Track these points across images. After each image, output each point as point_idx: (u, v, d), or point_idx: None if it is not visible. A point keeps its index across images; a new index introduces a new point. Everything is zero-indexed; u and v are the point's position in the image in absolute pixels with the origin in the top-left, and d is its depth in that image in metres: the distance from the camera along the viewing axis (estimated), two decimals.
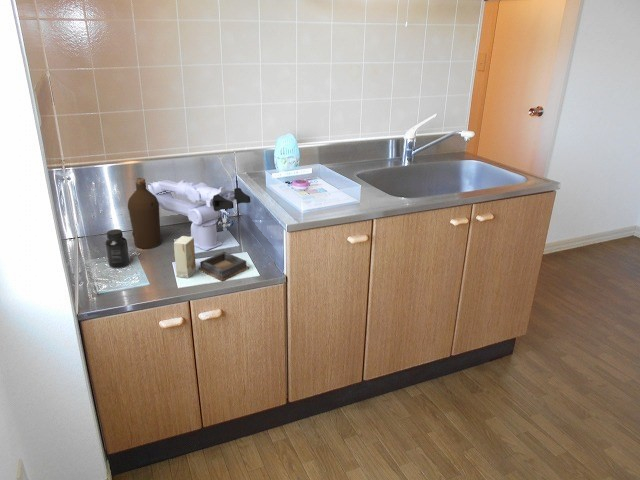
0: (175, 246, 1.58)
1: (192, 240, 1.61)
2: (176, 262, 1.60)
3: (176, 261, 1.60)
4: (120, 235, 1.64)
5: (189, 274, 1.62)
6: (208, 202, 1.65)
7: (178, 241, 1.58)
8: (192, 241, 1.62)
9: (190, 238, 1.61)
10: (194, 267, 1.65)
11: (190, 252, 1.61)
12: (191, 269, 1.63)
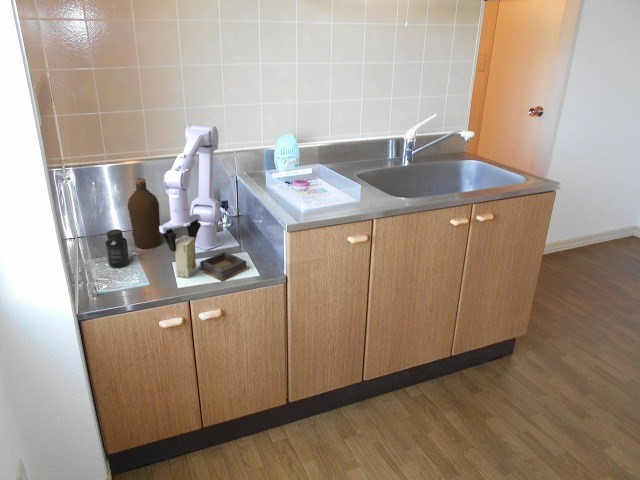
0: (176, 246, 1.57)
1: (193, 240, 1.61)
2: (176, 262, 1.60)
3: (176, 261, 1.60)
4: (120, 235, 1.64)
5: (189, 274, 1.62)
6: (162, 231, 1.52)
7: (179, 241, 1.58)
8: (193, 241, 1.61)
9: (191, 238, 1.61)
10: (194, 267, 1.65)
11: (191, 252, 1.61)
12: (191, 269, 1.63)
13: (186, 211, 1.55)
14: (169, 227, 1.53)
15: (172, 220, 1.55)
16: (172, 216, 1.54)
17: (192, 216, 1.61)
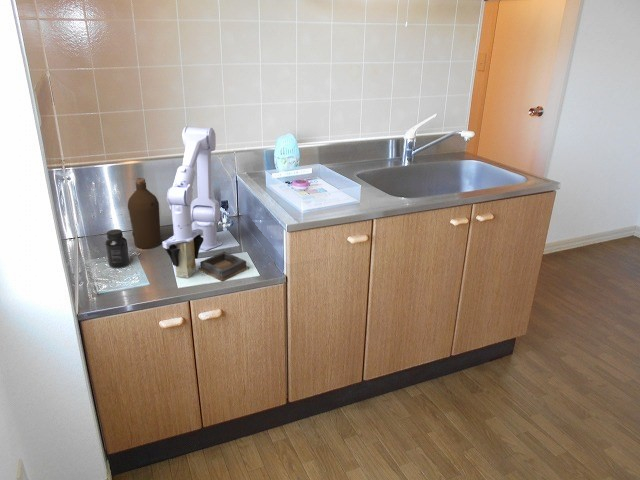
0: None
1: None
2: None
3: None
4: (120, 235, 1.64)
5: (189, 274, 1.62)
6: (165, 246, 1.54)
7: None
8: None
9: None
10: (194, 267, 1.65)
11: (190, 252, 1.61)
12: (191, 269, 1.63)
13: (189, 226, 1.56)
14: (172, 243, 1.55)
15: (175, 235, 1.57)
16: (175, 231, 1.56)
17: (195, 231, 1.63)
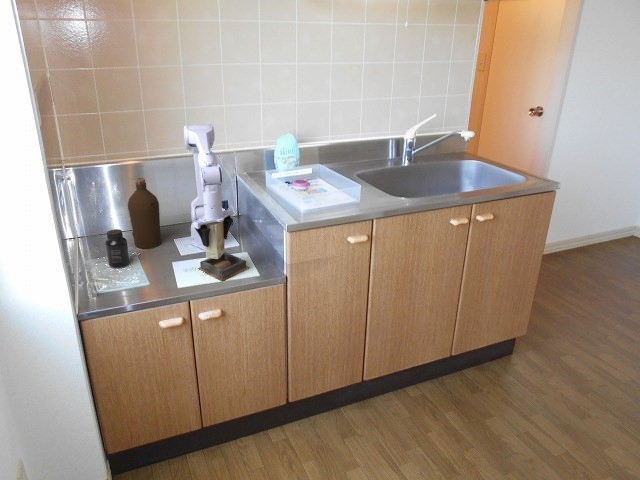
0: None
1: (222, 221, 1.62)
2: None
3: None
4: (120, 235, 1.64)
5: (219, 255, 1.62)
6: (196, 226, 1.54)
7: None
8: (222, 222, 1.62)
9: None
10: (223, 249, 1.66)
11: (220, 233, 1.61)
12: (221, 251, 1.64)
13: (220, 207, 1.57)
14: (203, 222, 1.55)
15: (206, 215, 1.57)
16: (206, 212, 1.56)
17: (224, 212, 1.63)
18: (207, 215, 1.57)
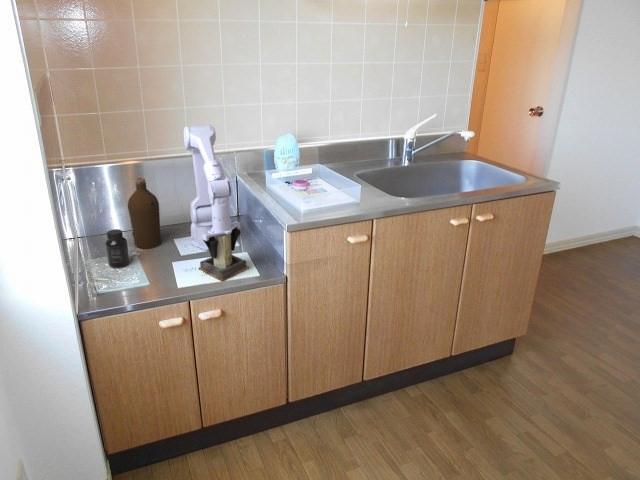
0: None
1: (229, 233, 1.64)
2: None
3: None
4: (120, 235, 1.64)
5: (227, 266, 1.65)
6: (205, 238, 1.57)
7: None
8: (230, 234, 1.65)
9: None
10: (231, 260, 1.68)
11: (228, 245, 1.64)
12: (228, 262, 1.66)
13: (228, 219, 1.59)
14: (212, 235, 1.57)
15: (214, 228, 1.59)
16: (214, 224, 1.59)
17: (232, 223, 1.65)
18: (215, 227, 1.59)
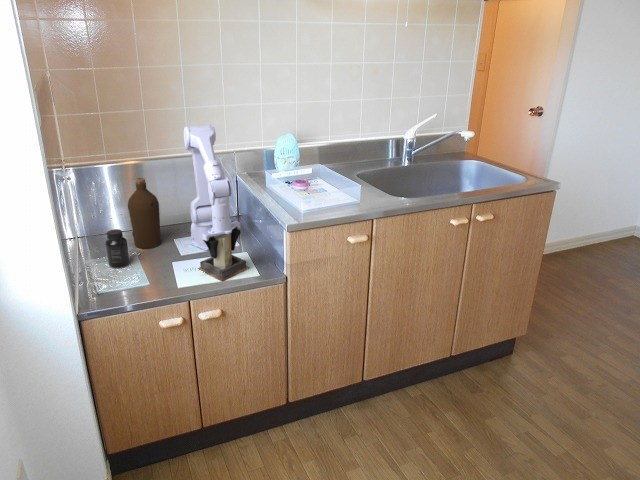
0: None
1: (229, 235, 1.65)
2: None
3: None
4: (120, 235, 1.64)
5: None
6: (205, 238, 1.57)
7: (216, 236, 1.62)
8: (230, 235, 1.65)
9: None
10: (231, 262, 1.69)
11: (228, 247, 1.64)
12: (228, 263, 1.66)
13: (228, 219, 1.59)
14: (212, 235, 1.57)
15: (214, 228, 1.59)
16: (214, 224, 1.59)
17: (232, 223, 1.65)
18: (215, 227, 1.59)
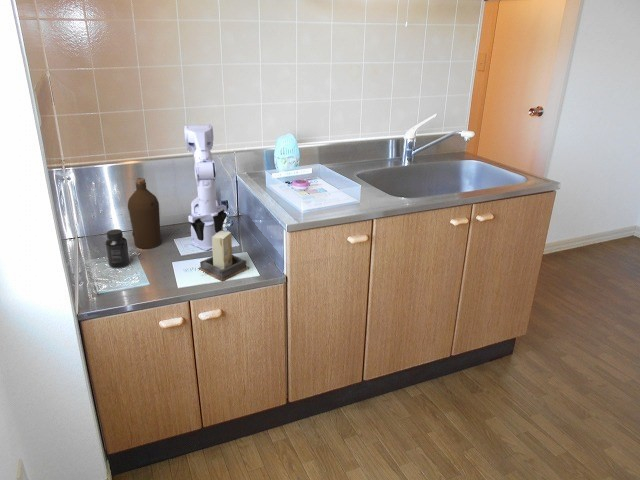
0: (213, 240, 1.61)
1: (229, 235, 1.64)
2: (213, 256, 1.64)
3: (213, 255, 1.63)
4: (120, 235, 1.64)
5: None
6: (191, 220, 1.58)
7: (216, 235, 1.62)
8: (230, 235, 1.65)
9: (228, 233, 1.64)
10: (231, 262, 1.69)
11: (228, 247, 1.64)
12: (228, 263, 1.66)
13: (214, 201, 1.61)
14: (198, 217, 1.59)
15: (200, 210, 1.61)
16: (200, 206, 1.60)
17: (218, 206, 1.67)
18: (201, 210, 1.61)
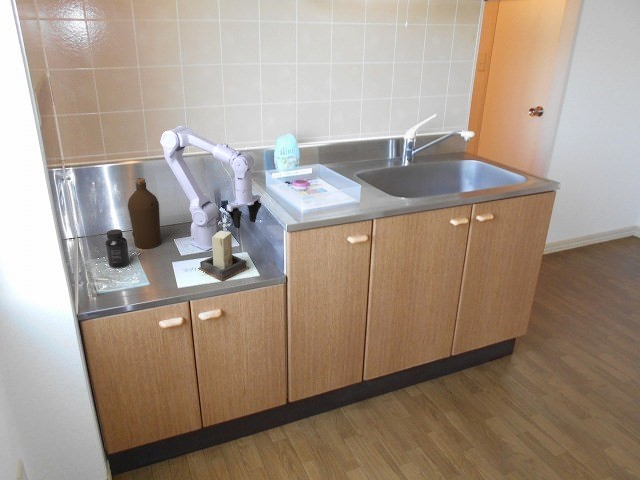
0: (213, 240, 1.61)
1: (230, 235, 1.64)
2: (214, 256, 1.64)
3: (214, 255, 1.63)
4: (120, 235, 1.64)
5: None
6: (229, 209, 1.68)
7: (216, 235, 1.62)
8: (230, 235, 1.65)
9: (228, 233, 1.64)
10: (231, 262, 1.69)
11: (228, 247, 1.64)
12: (228, 263, 1.66)
13: (250, 191, 1.71)
14: (236, 206, 1.69)
15: (237, 200, 1.71)
16: (238, 196, 1.70)
17: (253, 196, 1.77)
18: (239, 199, 1.71)
